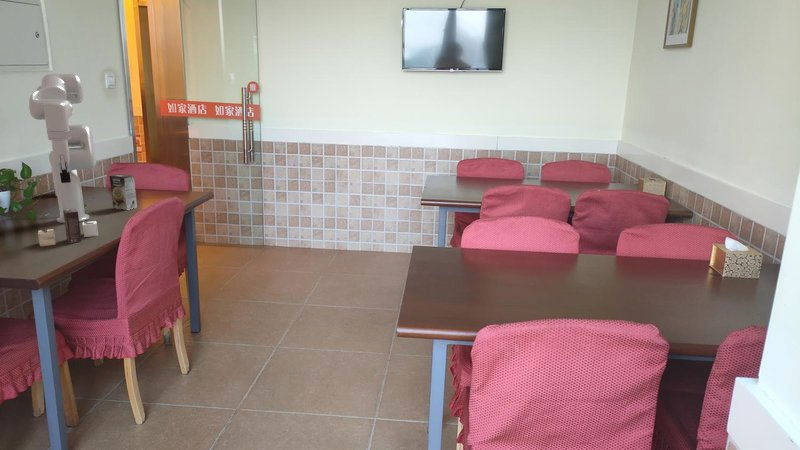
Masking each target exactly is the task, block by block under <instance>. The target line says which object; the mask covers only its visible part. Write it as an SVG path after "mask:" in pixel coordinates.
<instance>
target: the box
mask: <svg viewBox="0 0 800 450" xmlns="http://www.w3.org/2000/svg"><path fill="white" fill-rule="evenodd" d="M63 213H64V221H65V223H64V227H65V235H66V236H65V237H66V240H67V242H68V243H70V244H71V243H72V244H75V243H78V242H82V232H81V225H80V222H79V216H78V211H77V210H75V209H69V210H63Z"/></svg>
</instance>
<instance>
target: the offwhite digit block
mask: <svg viewBox="0 0 800 450" xmlns="http://www.w3.org/2000/svg"><path fill="white" fill-rule="evenodd" d="M81 222H82V229H83V237H84V238H90V237H98V236H99V231H98V223H97V221H96V220H92V221H81Z"/></svg>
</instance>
